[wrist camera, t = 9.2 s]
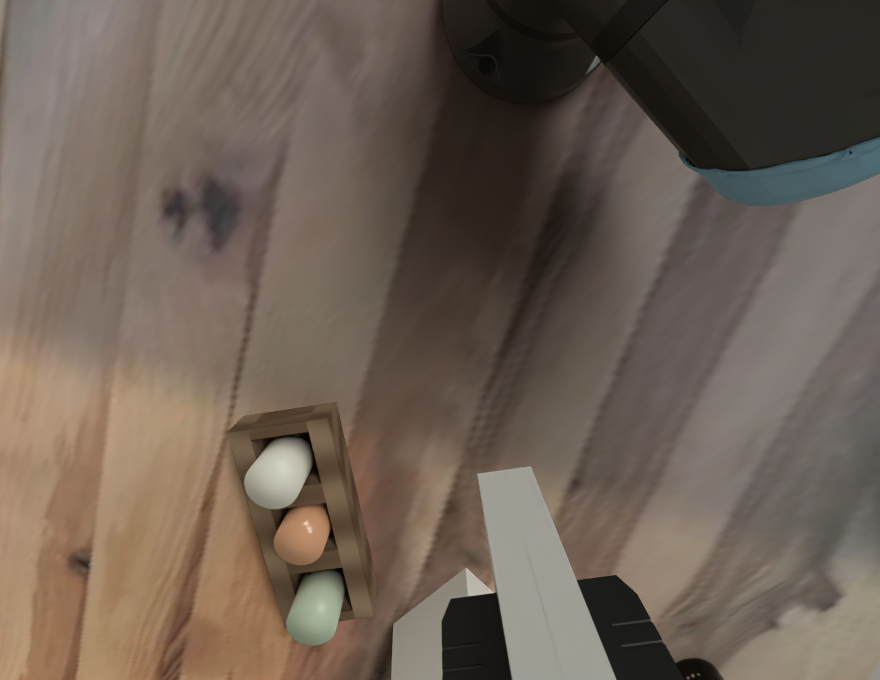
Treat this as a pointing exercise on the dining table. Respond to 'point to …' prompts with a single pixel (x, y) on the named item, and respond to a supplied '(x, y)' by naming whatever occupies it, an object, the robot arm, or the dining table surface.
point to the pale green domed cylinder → (317, 607)
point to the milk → (428, 630)
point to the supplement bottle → (698, 670)
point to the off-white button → (279, 472)
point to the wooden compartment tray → (321, 486)
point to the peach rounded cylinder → (303, 534)
